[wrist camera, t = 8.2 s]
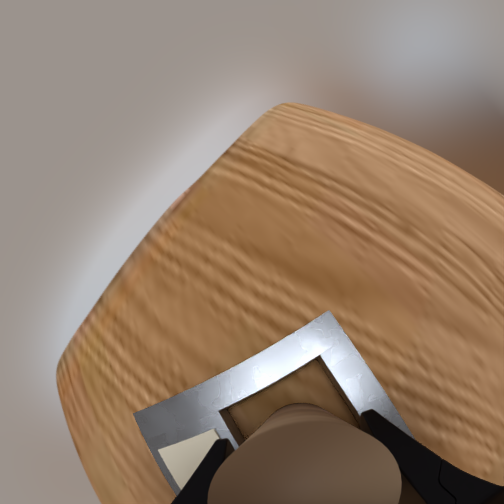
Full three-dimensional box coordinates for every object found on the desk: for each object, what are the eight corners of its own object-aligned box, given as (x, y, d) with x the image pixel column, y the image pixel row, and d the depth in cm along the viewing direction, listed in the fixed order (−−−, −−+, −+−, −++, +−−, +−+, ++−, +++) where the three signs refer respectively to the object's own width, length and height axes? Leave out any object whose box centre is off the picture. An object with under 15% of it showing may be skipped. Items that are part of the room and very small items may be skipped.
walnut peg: (353, 433, 12) (434, 480, 3) (297, 484, 11) (297, 584, 2) (299, 387, 14) (309, 383, 5) (244, 438, 13) (170, 494, 4)
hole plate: (404, 438, 14) (419, 443, 12) (220, 529, 12) (210, 544, 10) (325, 319, 20) (329, 308, 17) (149, 412, 18) (130, 413, 15)
